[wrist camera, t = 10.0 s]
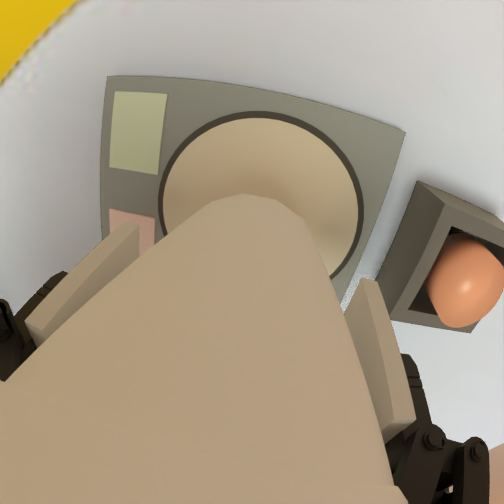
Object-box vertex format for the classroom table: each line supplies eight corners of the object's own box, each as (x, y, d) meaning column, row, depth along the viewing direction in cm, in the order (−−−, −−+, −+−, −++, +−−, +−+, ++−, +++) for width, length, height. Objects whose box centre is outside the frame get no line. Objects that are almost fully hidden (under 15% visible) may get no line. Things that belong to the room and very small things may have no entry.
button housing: (374, 281, 20) (387, 319, 16) (417, 180, 16) (445, 203, 12) (452, 300, 20) (470, 333, 16) (495, 216, 16) (525, 241, 12)
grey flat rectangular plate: (110, 268, 22) (104, 275, 21) (114, 76, 15) (105, 76, 14) (326, 322, 22) (327, 331, 21) (401, 130, 14) (407, 132, 14)
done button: (408, 290, 17) (422, 322, 14) (442, 222, 14) (466, 247, 12) (460, 303, 17) (476, 331, 14) (493, 243, 14) (516, 267, 12)
